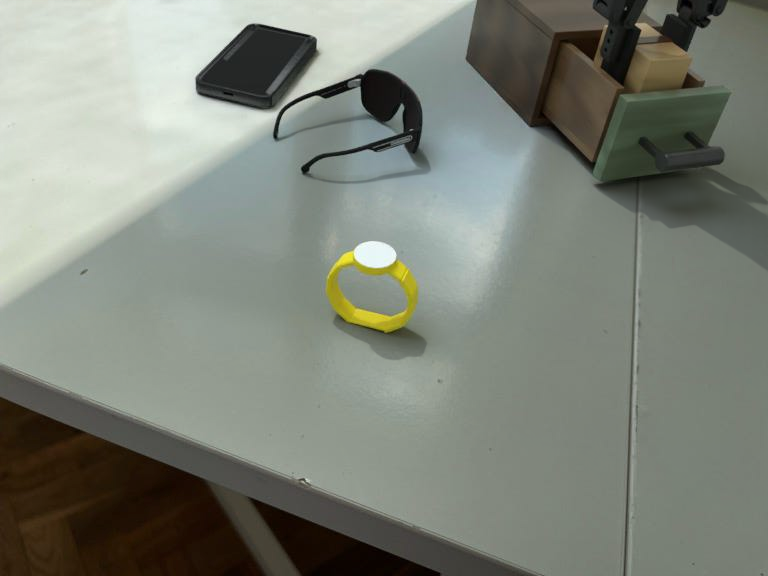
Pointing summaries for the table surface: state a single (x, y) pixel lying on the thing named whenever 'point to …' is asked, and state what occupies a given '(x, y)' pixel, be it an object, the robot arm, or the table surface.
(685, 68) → the box
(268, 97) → the phone
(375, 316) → the watch
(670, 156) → the drawer
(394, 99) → the sunglasses
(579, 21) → the cabinet
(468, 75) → the table surface
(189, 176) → the table surface
